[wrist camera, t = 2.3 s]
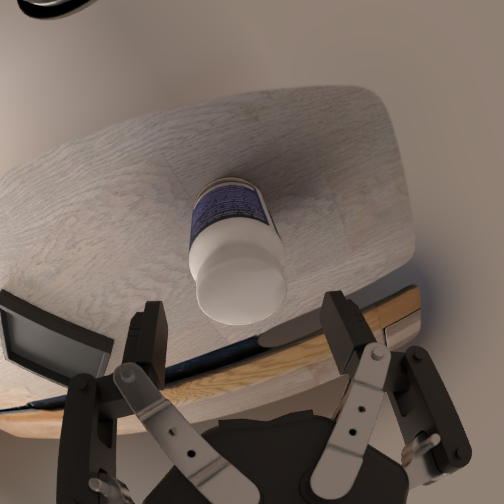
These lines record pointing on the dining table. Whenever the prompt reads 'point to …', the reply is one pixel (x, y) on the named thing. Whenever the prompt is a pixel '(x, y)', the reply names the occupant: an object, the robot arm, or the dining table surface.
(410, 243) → the dining table surface
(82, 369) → the serving tray
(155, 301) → the robot arm
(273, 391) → the dining table surface
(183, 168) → the dining table surface
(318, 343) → the dining table surface
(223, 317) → the pill bottle
